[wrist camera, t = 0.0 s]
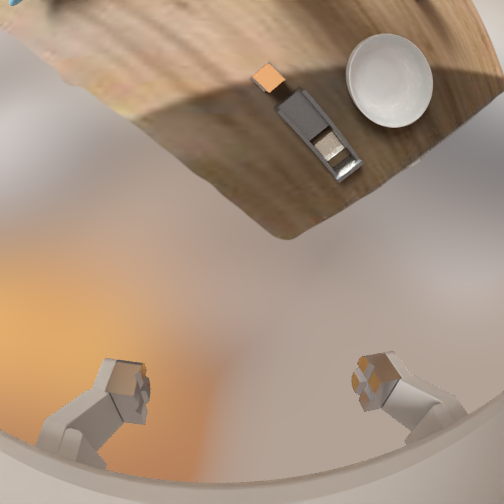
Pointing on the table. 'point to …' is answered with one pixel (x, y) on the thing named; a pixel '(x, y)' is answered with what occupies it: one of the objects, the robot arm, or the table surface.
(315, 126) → the rail
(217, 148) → the table surface
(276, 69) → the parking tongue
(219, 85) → the table surface
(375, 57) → the serving bowl
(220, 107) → the table surface
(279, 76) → the block
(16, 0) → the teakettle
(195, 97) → the table surface
